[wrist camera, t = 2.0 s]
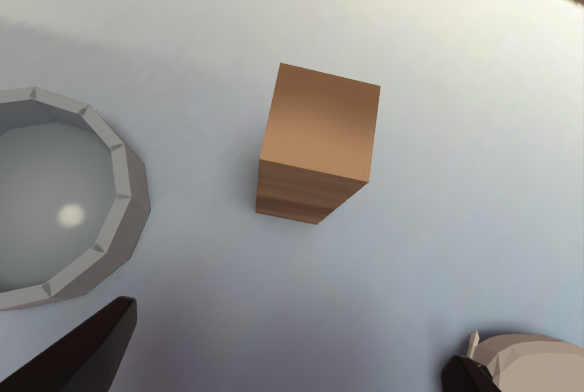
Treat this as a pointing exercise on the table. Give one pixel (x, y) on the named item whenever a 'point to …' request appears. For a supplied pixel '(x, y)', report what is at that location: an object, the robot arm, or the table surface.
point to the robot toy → (529, 362)
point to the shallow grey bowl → (63, 198)
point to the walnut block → (315, 144)
